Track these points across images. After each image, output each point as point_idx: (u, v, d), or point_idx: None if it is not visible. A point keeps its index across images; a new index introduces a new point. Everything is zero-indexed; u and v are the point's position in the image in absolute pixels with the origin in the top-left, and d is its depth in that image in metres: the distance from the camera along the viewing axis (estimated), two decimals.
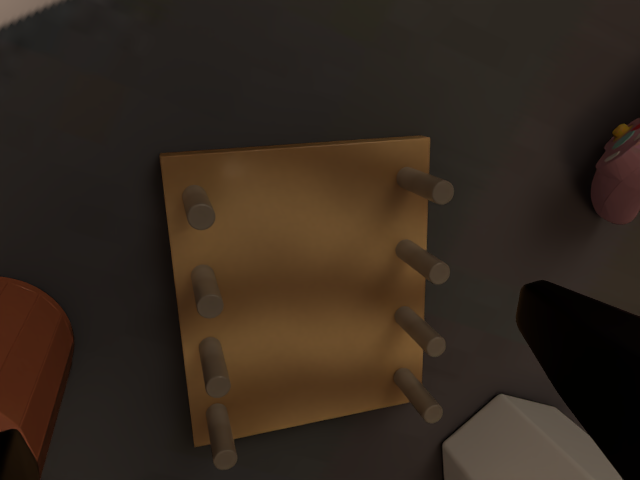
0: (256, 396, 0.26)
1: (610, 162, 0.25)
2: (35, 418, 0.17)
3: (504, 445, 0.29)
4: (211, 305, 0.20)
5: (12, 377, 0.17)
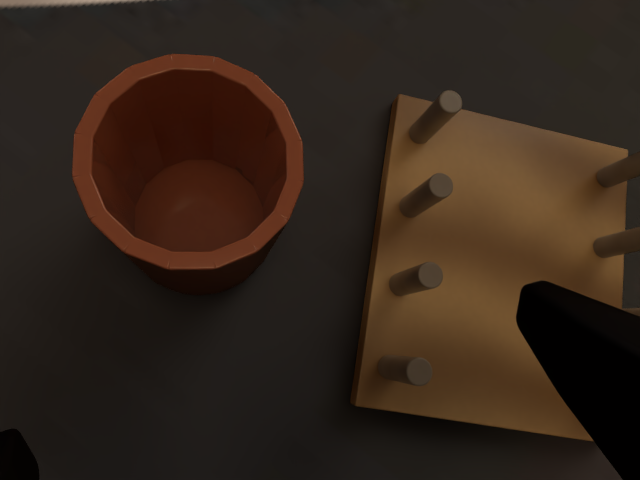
0: (434, 364, 0.23)
1: None
2: None
3: None
4: (442, 184, 0.21)
5: None
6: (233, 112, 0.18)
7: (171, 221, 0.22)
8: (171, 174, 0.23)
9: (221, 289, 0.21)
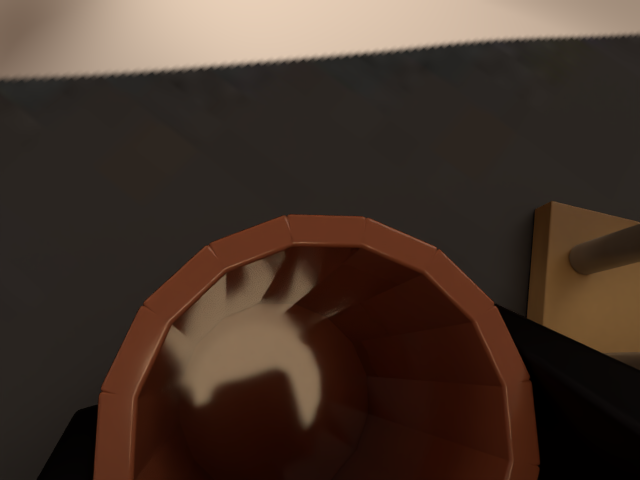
0: None
1: None
2: None
3: None
4: None
5: None
6: (368, 286, 0.10)
7: (233, 402, 0.15)
8: (234, 327, 0.15)
9: None
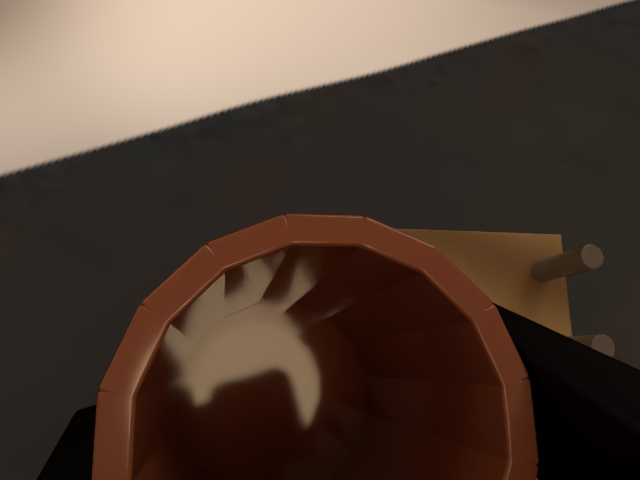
0: None
1: None
2: None
3: None
4: None
5: None
6: (367, 285, 0.10)
7: (233, 401, 0.15)
8: (233, 327, 0.15)
9: None
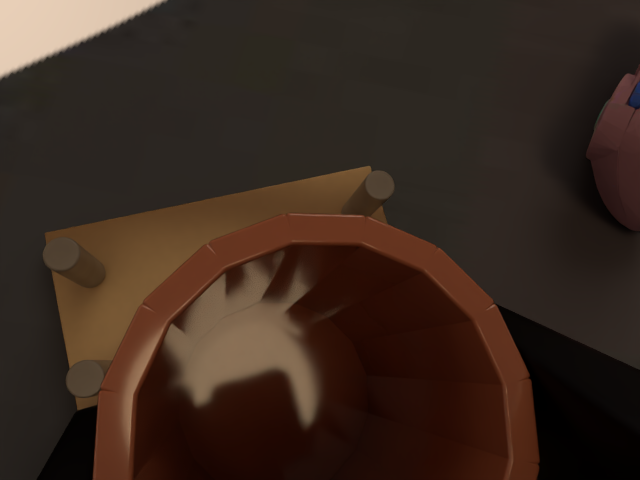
0: None
1: (593, 133, 0.20)
2: None
3: None
4: (86, 376, 0.14)
5: None
6: (368, 285, 0.10)
7: (233, 401, 0.15)
8: (234, 327, 0.15)
9: None
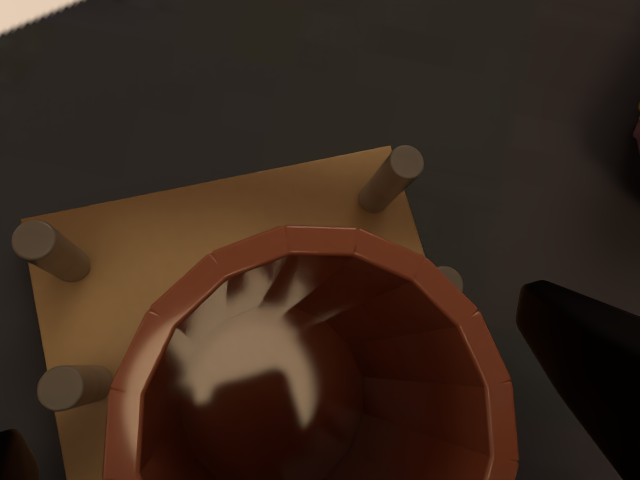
0: None
1: None
2: None
3: None
4: (62, 385, 0.12)
5: None
6: (362, 291, 0.11)
7: (233, 401, 0.15)
8: (234, 329, 0.16)
9: None
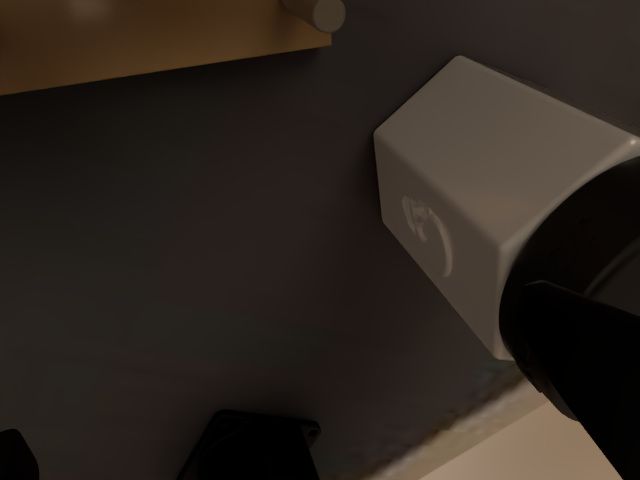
0: (42, 12, 0.16)
1: None
2: None
3: (456, 110, 0.19)
4: None
5: None
6: None
7: None
8: None
9: None
